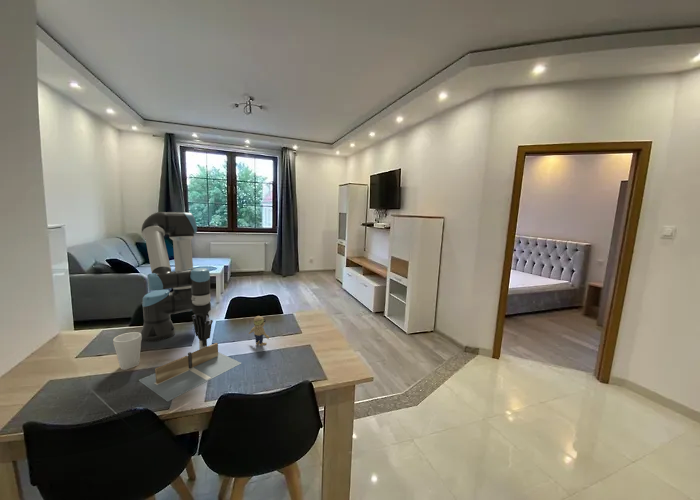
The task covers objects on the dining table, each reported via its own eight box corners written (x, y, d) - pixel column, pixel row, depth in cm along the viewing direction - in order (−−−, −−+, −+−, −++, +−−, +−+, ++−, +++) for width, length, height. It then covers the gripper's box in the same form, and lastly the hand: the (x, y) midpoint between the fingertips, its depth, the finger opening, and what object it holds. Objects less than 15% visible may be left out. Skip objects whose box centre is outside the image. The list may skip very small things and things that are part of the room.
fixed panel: (156, 382, 112) (155, 368, 111) (187, 368, 122) (186, 355, 121) (157, 384, 111) (156, 369, 110) (188, 369, 121) (188, 356, 120)
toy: (273, 344, 146) (273, 316, 144) (265, 349, 141) (265, 320, 139) (254, 339, 151) (253, 312, 149) (246, 343, 146) (245, 315, 144)
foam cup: (120, 361, 126) (117, 333, 124) (145, 358, 130) (143, 330, 128) (112, 373, 117) (109, 343, 115) (140, 369, 121) (137, 340, 119)
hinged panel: (188, 367, 122) (187, 353, 121) (216, 354, 133) (216, 341, 132) (189, 368, 122) (188, 354, 121) (218, 355, 133) (217, 342, 132)
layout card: (138, 381, 113) (138, 380, 113) (211, 349, 139) (211, 348, 139) (167, 402, 102) (167, 401, 102) (241, 364, 128) (241, 363, 128)
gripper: (185, 302, 130) (187, 351, 133) (201, 308, 123) (203, 359, 127) (201, 297, 136) (202, 344, 140) (217, 303, 130) (219, 352, 133)
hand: (203, 351), depth 133 cm, fingers closed
